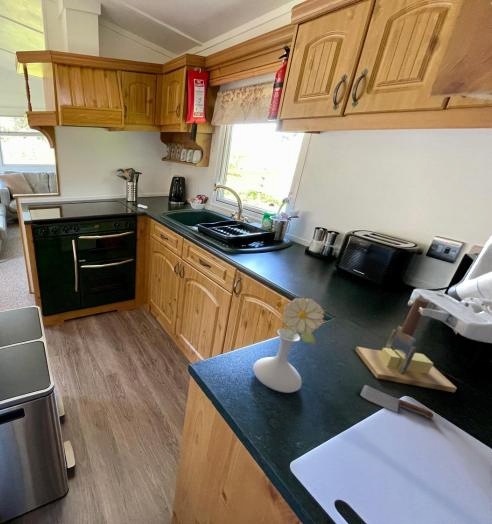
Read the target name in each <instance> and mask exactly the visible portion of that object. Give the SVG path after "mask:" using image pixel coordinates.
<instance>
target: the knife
mask: <svg viewBox="0 0 492 524" xmlns="http://www.w3.org/2000/svg"><path fill="white" fill-rule="evenodd" d="M428 304H429V301H428V300H426V299H423V298H418V297H417V298H416V299H415V301H414V303H413V305H412V307H410V309H409V312H408V313H407V317H406V318H405V321H404V323H403V325H402V326H400V325H398V326H397V329H396V330H397V334H396V336H395V338H394V340H393V342H392V345H391V346H393V347H394V348H395V350H398V351H399V352H400V353H401V354H402V355H403V356H404V357H407V355H408V353H409V351H410V349H411V347H412V346H414V343H417V341H418V339H416V338H415V337H414V335H415V333H416V331H417V329H418V327H419V325H420V323H421V320H422V318H423V317H424V316H423V315H421V314H420V313H419V312H418V310H419V308H420V307H427V306H428Z"/></svg>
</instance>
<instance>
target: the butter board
mask: <svg viewBox="0 0 492 524" xmlns="http://www.w3.org/2000/svg"><path fill="white" fill-rule="evenodd" d="M397 331H398V329H394V328H393V329H392V331H391V333H390V336H389V338H388V340H387V342H386V345H385V346H384V348H389V349H391V347H392V346H393V345H392V342H393V340H394V338H395V336H396V334H397ZM417 349H418V348H417V347H416V346H414V345H412V347H411V349H410V351H409V353H408V355H407V357H406V359H405V361H404V363H403V365H402V367H401V369H398V368H397V366H396V368H391V367H387V366H386V365H385V364H384V363H383V362H382V361H381V359H380V358H379V356H380V354H381V352H382V350H379V349H373V348H367V347H362V346H356V347H355V352H356V354H357V355H358V356H359V358H360V359H361V360H362V361H363V363H364V364H365V365H366V366H367V368H368V369H369V370H370V372H371V374H373V376H374V377H375V378H376V379H379V380H385V381H389V382H395V383H401V384H405V385H406V384H407V385H411V386H417V387H422V388H428V389H434V390H439V391H443V392H449V393H450V392H451V393H455V392H456V391H457V388H458V387H456V385H454V384H453V383H452V382H451V381H450V380H449V379H448V378H447V377H446V376H445V375H443V374H442V372H440V371H439V370H438V369H437V368H436V367H435V366H434V365H433V366H432V368H431V369H430V371H429V373H428V374H425V373H420V372H414V371H408V370H407V368H408V366H409V364H410V362H411V360H412V358H413V356H414V354H415V353H417Z"/></svg>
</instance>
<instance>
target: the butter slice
mask: <svg viewBox="0 0 492 524" xmlns="http://www.w3.org/2000/svg"><path fill="white" fill-rule="evenodd" d="M381 351H382V352H381V354H380V356H379V358H380V359H381V361H382V362H383V363H384V364H385V365H386V366H387V367H391V368H396V366H397V363H398V361H399V359H400V357H399V356H398V355H397V354H396V353H395V352H394V349H392V348H390V349H389V348H385V347H382V349H381Z"/></svg>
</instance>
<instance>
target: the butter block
mask: <svg viewBox="0 0 492 524" xmlns="http://www.w3.org/2000/svg"><path fill="white" fill-rule="evenodd" d="M393 351H394V352H395V353H396V354H397V355H398V356H399V357H400V359H399V361H398V363H397V368H398V369H401V367H402V365H403V363H404V361H405V359H406V357H404V356H403V355H402V354H401V353H400V352H399V351H398V350H397V349H393ZM432 366H434V363H433V361H431V359H430V358H428V357H427V356H426V355H425V354H424V353H419V352H415V354H414V356H413V358H412V360H411V362H410V364H409V366H408V368H407V370H408V371H414V372H420V373H425V374H428V373H429V371H430V369H431V368H432Z"/></svg>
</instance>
